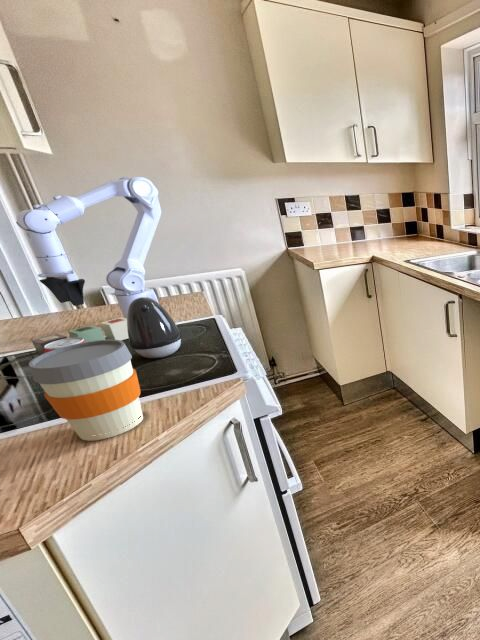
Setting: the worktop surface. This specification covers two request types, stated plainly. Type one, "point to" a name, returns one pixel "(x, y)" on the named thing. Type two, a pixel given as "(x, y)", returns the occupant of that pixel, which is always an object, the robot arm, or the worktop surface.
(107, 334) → the block
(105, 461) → the worktop surface
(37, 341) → the block
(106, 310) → the worktop surface
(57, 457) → the worktop surface
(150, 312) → the black egg shaped device
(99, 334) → the block
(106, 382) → the reusable coffee cup
